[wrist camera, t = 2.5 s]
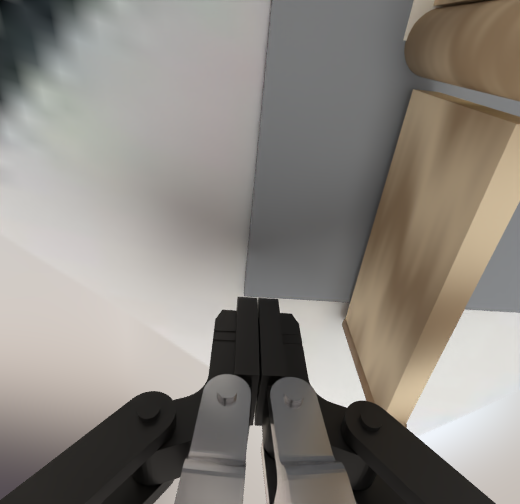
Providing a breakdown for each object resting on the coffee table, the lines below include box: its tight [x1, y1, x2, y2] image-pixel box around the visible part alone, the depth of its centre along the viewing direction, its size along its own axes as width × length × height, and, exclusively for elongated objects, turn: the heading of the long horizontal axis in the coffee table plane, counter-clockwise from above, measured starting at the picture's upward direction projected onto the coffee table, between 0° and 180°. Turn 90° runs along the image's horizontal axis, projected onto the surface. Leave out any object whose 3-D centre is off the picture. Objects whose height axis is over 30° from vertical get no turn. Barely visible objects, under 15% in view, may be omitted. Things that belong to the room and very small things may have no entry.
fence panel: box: [342, 89, 520, 427], centre depth 14 cm, size 12×1×6 cm, turn 174°
